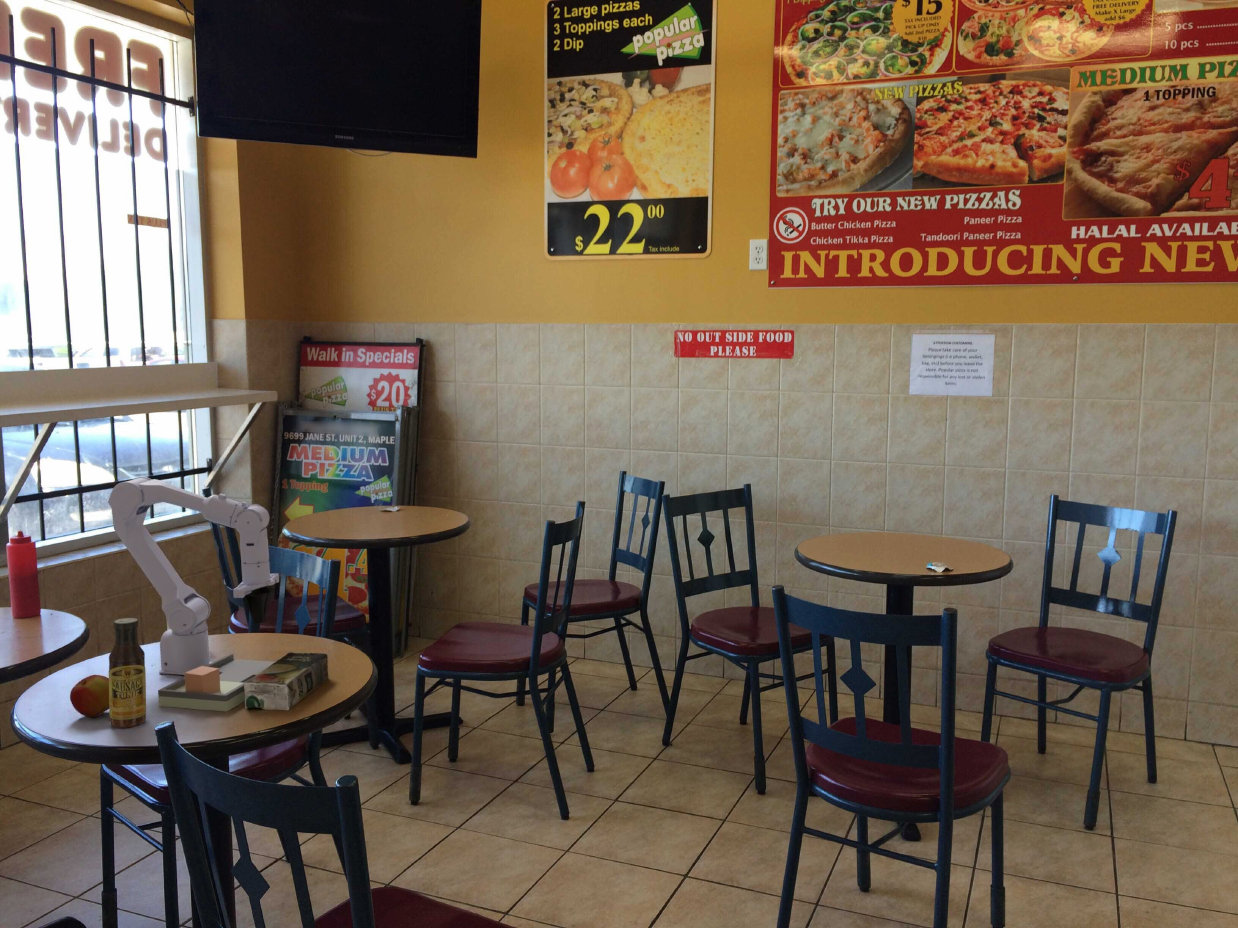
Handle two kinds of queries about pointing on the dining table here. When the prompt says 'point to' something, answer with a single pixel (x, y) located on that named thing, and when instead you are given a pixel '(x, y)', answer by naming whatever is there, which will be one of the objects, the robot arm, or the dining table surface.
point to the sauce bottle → (127, 676)
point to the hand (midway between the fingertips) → (259, 621)
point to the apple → (91, 695)
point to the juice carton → (286, 681)
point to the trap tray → (230, 686)
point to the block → (203, 680)
